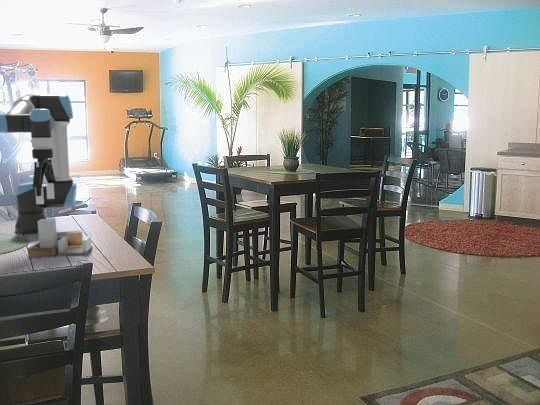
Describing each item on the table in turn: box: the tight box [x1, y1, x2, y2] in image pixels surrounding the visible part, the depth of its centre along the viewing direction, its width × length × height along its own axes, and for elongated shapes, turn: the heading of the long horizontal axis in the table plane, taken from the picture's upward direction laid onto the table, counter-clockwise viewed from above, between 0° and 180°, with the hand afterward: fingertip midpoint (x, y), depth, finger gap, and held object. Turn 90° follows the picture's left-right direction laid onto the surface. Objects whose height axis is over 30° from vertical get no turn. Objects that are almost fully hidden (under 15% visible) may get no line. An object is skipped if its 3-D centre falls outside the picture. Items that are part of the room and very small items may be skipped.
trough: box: [27, 237, 62, 258], centre depth 225 cm, size 18×10×4 cm, turn 5°
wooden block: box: [66, 230, 83, 246], centre depth 234 cm, size 6×6×6 cm
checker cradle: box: [56, 235, 93, 257], centre depth 224 cm, size 12×11×6 cm
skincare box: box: [37, 218, 58, 248], centre depth 224 cm, size 6×4×12 cm
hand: (45, 201), depth 222 cm, fingers open, 13 cm apart
